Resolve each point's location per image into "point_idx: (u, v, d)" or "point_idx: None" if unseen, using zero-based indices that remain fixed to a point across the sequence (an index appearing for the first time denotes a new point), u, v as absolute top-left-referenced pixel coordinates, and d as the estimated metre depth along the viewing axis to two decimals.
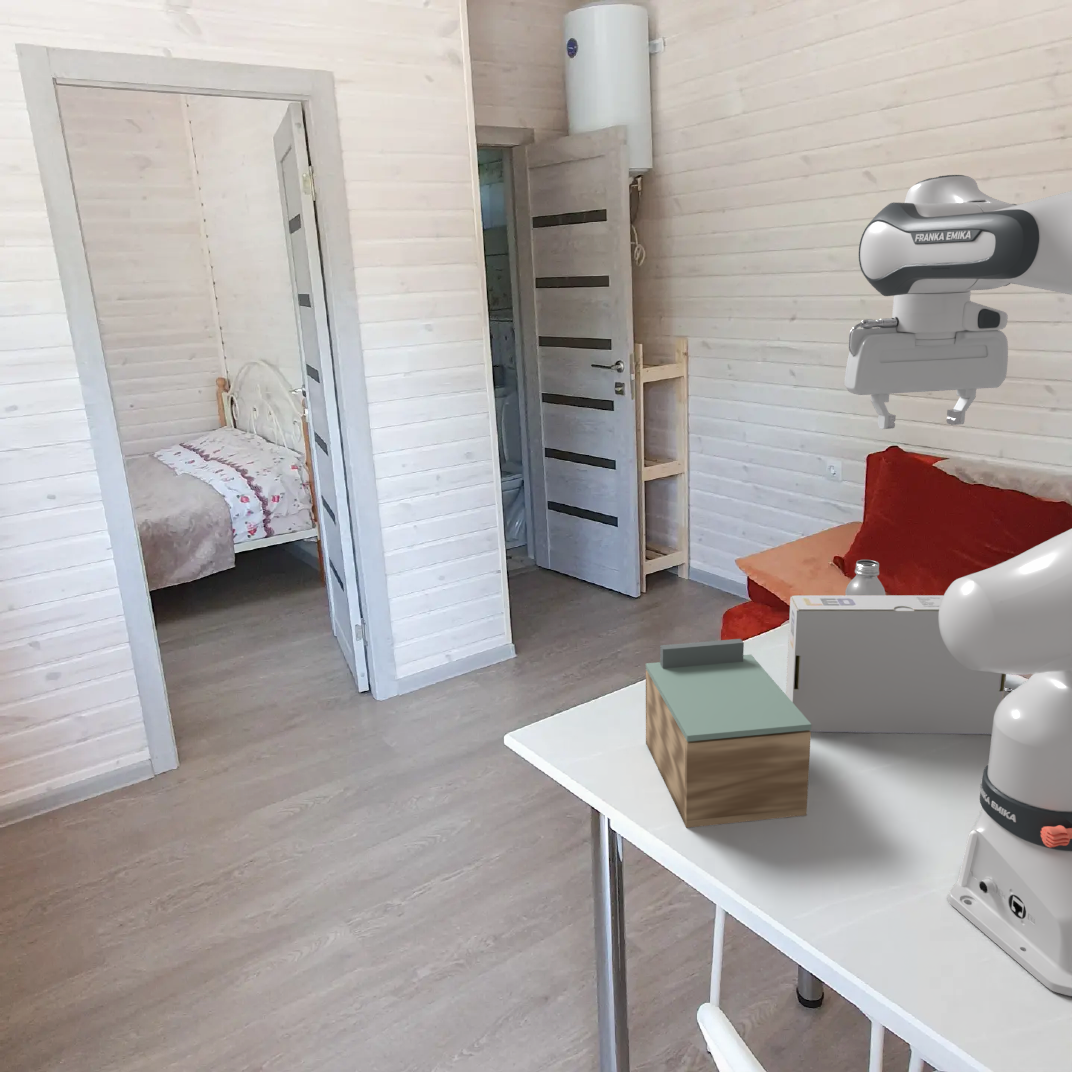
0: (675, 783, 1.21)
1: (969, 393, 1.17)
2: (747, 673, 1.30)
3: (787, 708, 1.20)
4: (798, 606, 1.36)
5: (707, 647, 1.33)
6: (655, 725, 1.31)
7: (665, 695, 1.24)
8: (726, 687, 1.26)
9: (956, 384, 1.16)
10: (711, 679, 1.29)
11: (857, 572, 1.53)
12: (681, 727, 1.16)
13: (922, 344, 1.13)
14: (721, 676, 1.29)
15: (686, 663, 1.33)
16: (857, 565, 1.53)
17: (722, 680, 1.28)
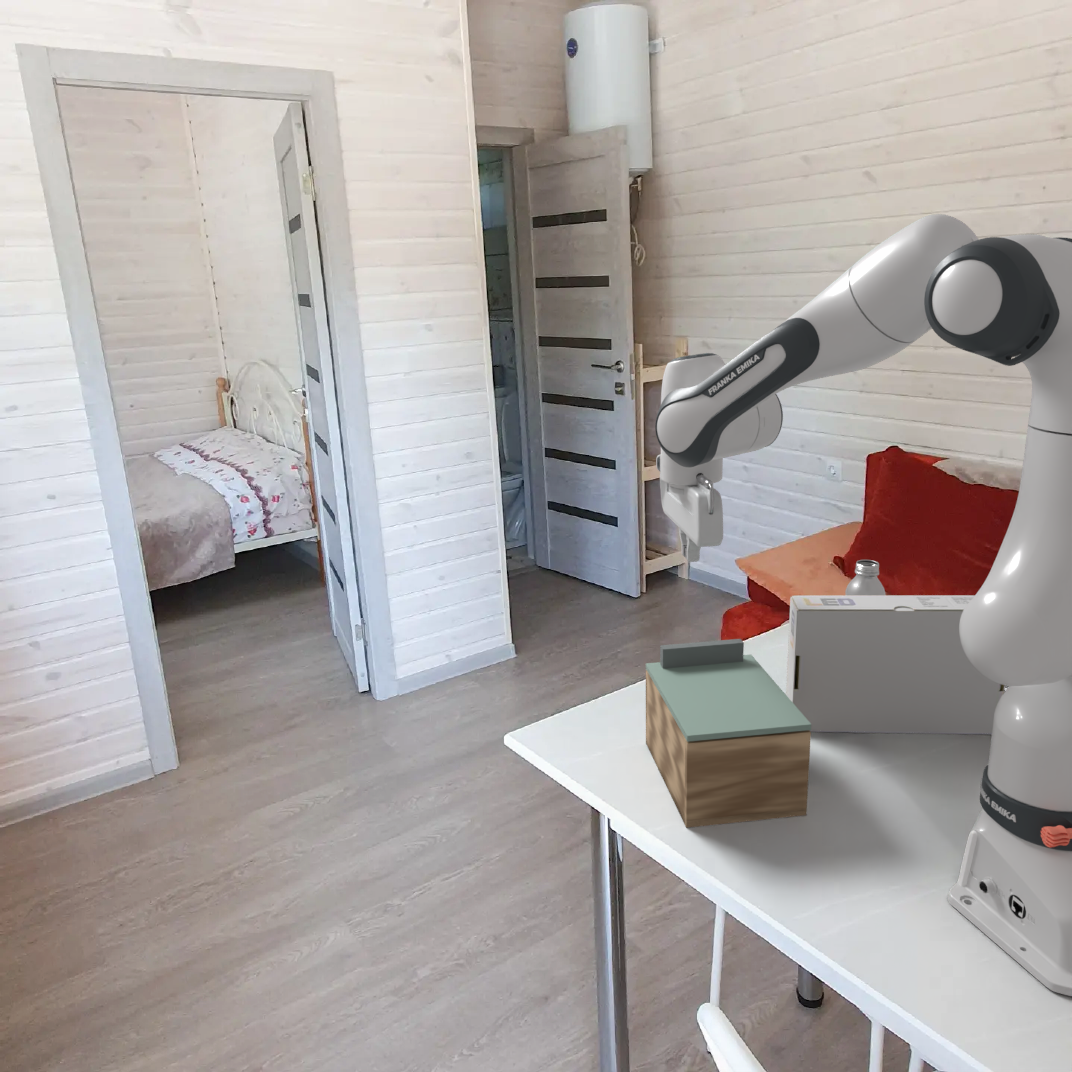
0: (675, 783, 1.21)
1: None
2: (747, 673, 1.30)
3: (787, 708, 1.20)
4: (798, 606, 1.36)
5: (707, 647, 1.33)
6: (655, 725, 1.31)
7: (665, 695, 1.24)
8: (726, 687, 1.26)
9: None
10: (711, 679, 1.29)
11: (857, 572, 1.53)
12: (681, 727, 1.16)
13: None
14: (721, 676, 1.29)
15: (686, 663, 1.33)
16: (857, 565, 1.53)
17: (722, 680, 1.28)
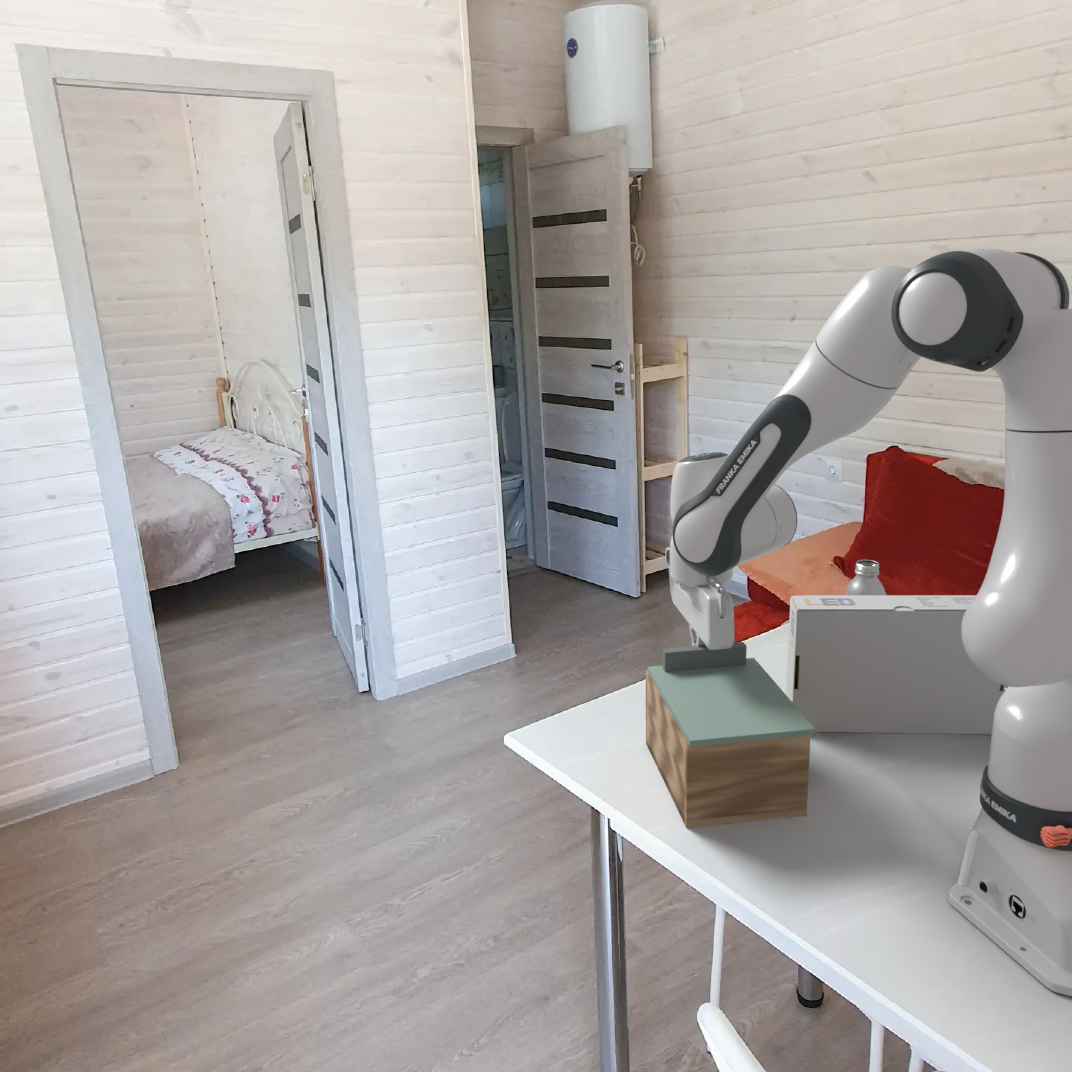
0: (675, 783, 1.21)
1: None
2: (750, 677, 1.29)
3: (791, 712, 1.18)
4: (798, 606, 1.36)
5: (710, 650, 1.31)
6: (655, 725, 1.31)
7: (667, 699, 1.23)
8: (728, 691, 1.25)
9: None
10: (714, 683, 1.27)
11: (857, 572, 1.53)
12: (684, 732, 1.15)
13: None
14: (724, 680, 1.28)
15: (688, 666, 1.32)
16: (857, 565, 1.53)
17: (724, 684, 1.27)
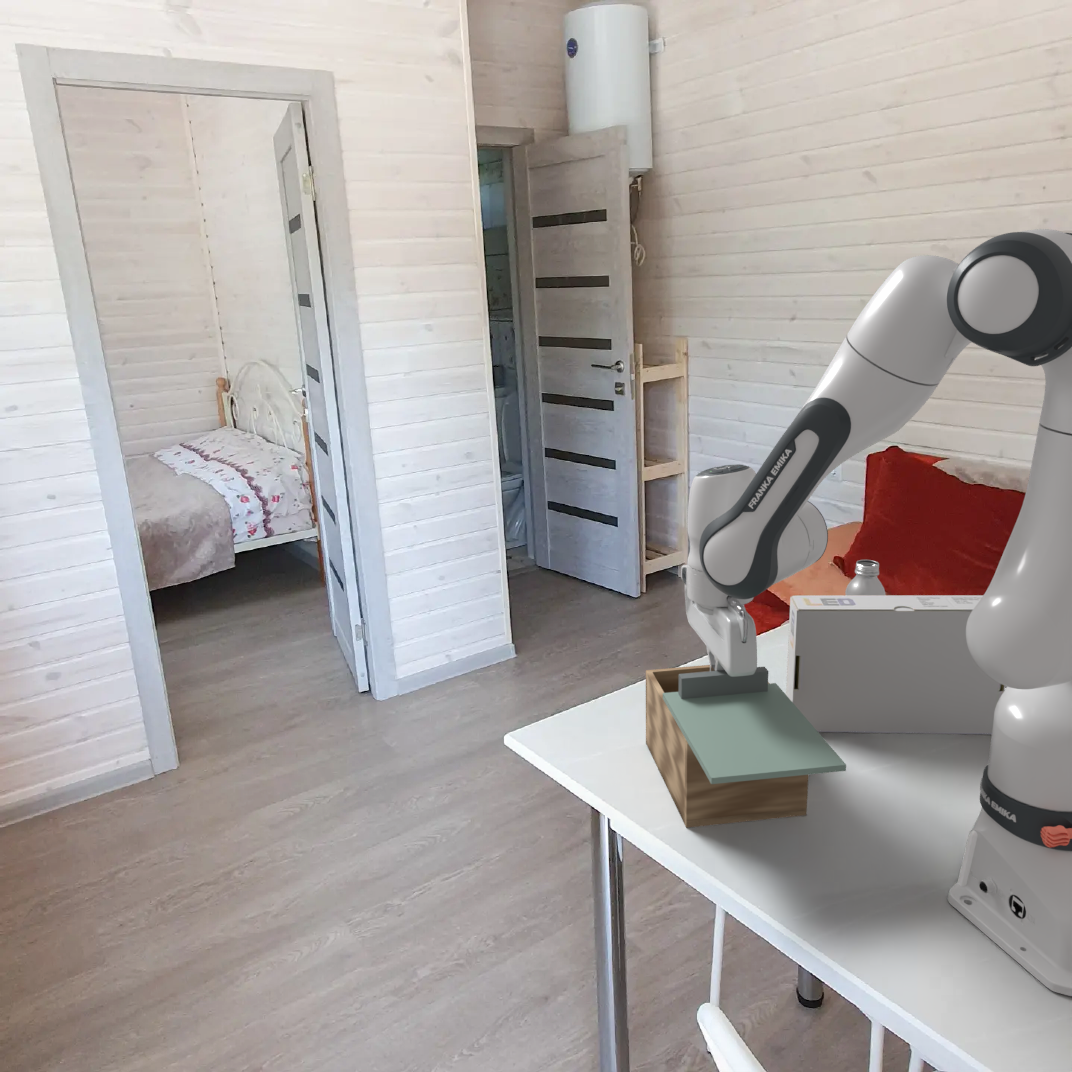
0: (675, 783, 1.21)
1: None
2: (773, 705, 1.21)
3: (819, 746, 1.10)
4: (798, 606, 1.36)
5: (729, 676, 1.23)
6: (655, 725, 1.31)
7: (685, 730, 1.15)
8: (750, 720, 1.17)
9: None
10: (734, 711, 1.19)
11: (857, 572, 1.53)
12: (704, 767, 1.07)
13: None
14: (745, 708, 1.20)
15: (706, 693, 1.23)
16: (857, 565, 1.53)
17: (746, 712, 1.19)
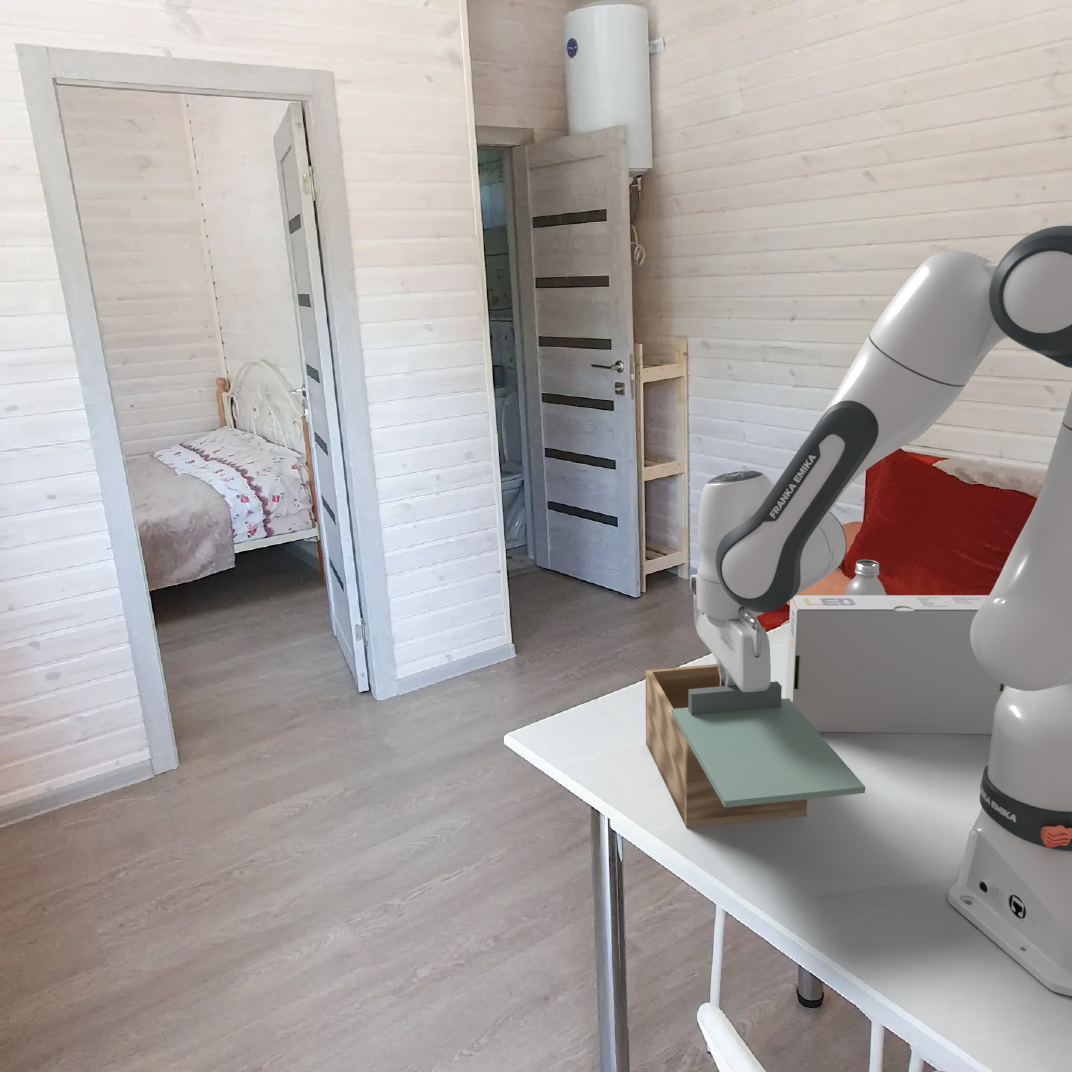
0: (675, 783, 1.21)
1: None
2: (786, 721, 1.16)
3: (836, 766, 1.06)
4: (798, 606, 1.36)
5: (741, 691, 1.19)
6: (655, 725, 1.31)
7: (696, 749, 1.10)
8: (764, 739, 1.12)
9: None
10: (747, 729, 1.15)
11: (857, 572, 1.53)
12: (717, 789, 1.02)
13: None
14: (757, 725, 1.15)
15: (717, 709, 1.19)
16: (857, 565, 1.53)
17: (759, 730, 1.14)
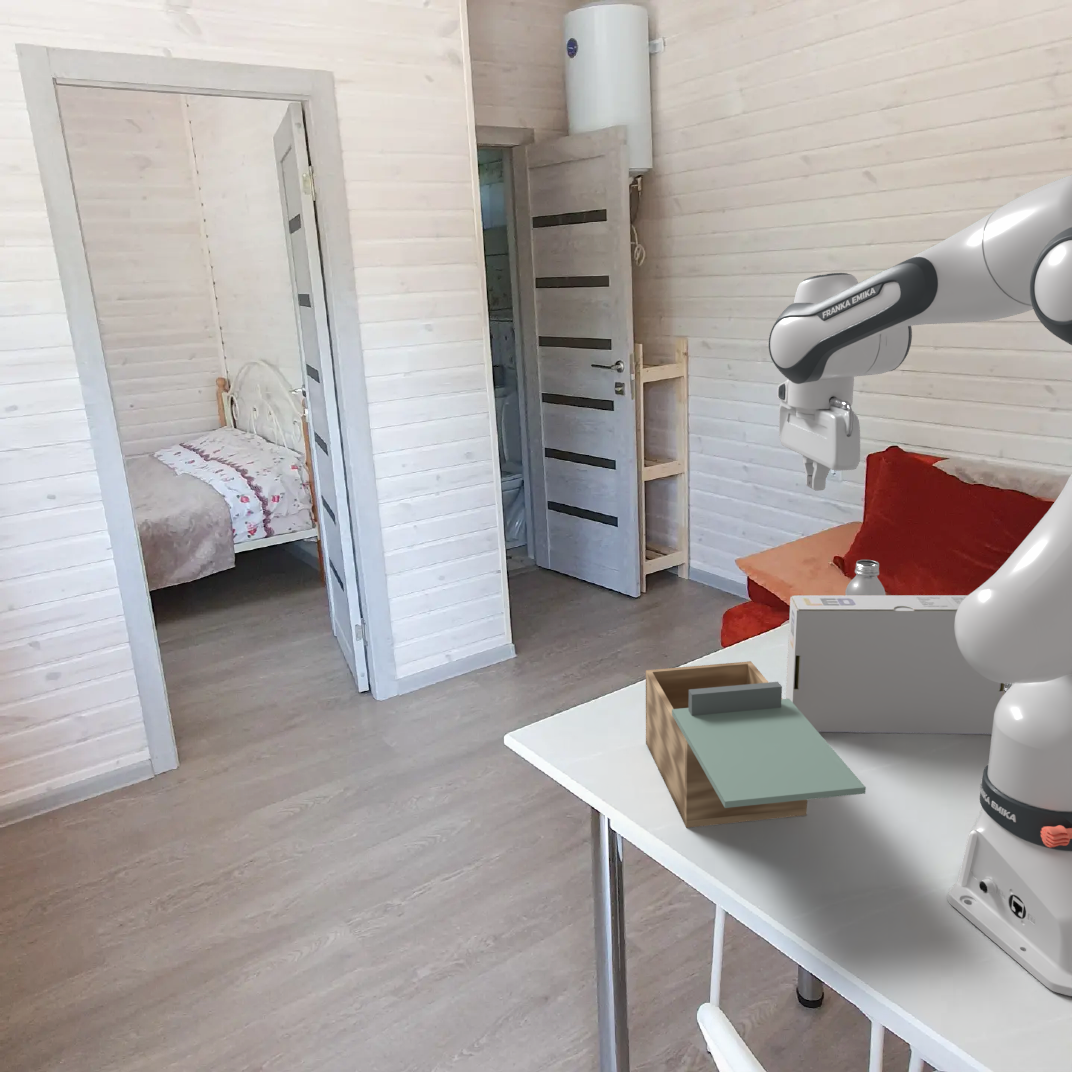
0: (675, 783, 1.21)
1: None
2: (787, 722, 1.16)
3: (836, 766, 1.05)
4: (798, 606, 1.36)
5: (741, 692, 1.19)
6: (655, 725, 1.31)
7: (696, 749, 1.10)
8: (764, 739, 1.12)
9: None
10: (747, 729, 1.15)
11: (857, 572, 1.53)
12: (717, 790, 1.02)
13: None
14: (758, 725, 1.15)
15: (718, 709, 1.19)
16: (857, 565, 1.53)
17: (759, 730, 1.14)
